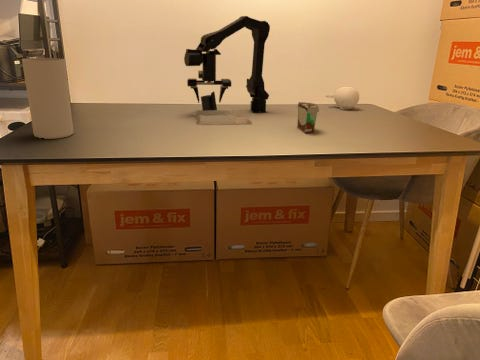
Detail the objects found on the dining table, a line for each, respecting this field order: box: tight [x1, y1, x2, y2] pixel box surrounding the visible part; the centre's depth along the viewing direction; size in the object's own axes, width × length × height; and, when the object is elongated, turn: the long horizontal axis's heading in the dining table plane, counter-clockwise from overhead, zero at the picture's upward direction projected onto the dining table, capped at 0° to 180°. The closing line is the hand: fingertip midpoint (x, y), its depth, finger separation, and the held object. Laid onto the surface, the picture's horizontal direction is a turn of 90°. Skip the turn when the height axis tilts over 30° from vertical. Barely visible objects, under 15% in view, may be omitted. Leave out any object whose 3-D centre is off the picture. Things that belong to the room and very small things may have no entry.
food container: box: [296, 101, 320, 134], centre depth 152 cm, size 12×6×10 cm, turn 9°
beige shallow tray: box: [195, 109, 253, 126], centre depth 165 cm, size 22×13×4 cm, turn 99°
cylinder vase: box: [21, 57, 74, 140], centre depth 132 cm, size 12×12×25 cm
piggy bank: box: [325, 86, 360, 111], centre depth 200 cm, size 12×12×15 cm
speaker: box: [200, 91, 218, 110], centre depth 175 cm, size 8×6×10 cm
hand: (209, 102), depth 175 cm, fingers open, 9 cm apart
